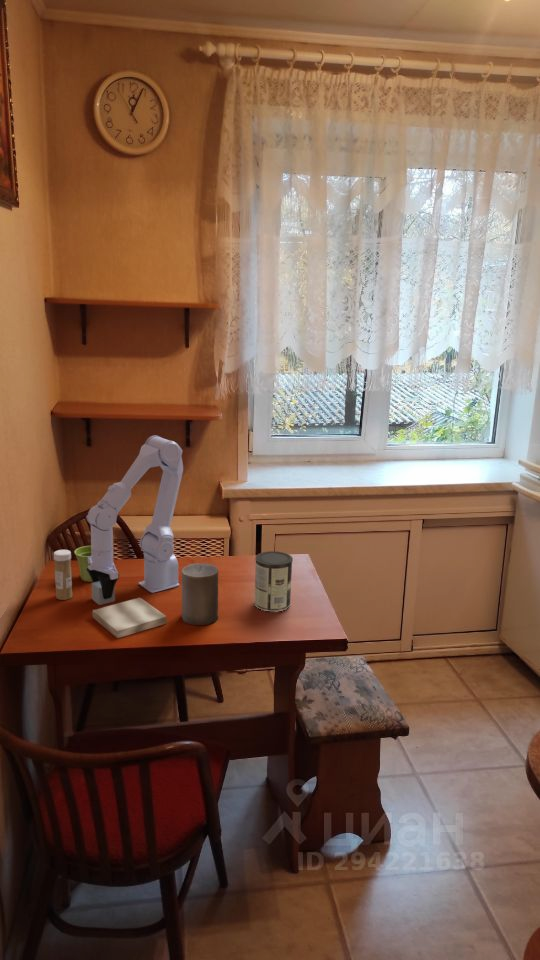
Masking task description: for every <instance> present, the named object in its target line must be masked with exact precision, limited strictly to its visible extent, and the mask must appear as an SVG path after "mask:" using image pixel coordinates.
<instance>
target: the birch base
mask: <svg viewBox="0 0 540 960" xmlns="http://www.w3.org/2000/svg"><path fill="white" fill-rule="evenodd" d="M92 618H93V619H94V620H95V621H97V622H98V624H100V625H101V626H102V627H104V628H105V629H106V630H107V631H108V632H110V633H111V634H112V635H113V636H114V637H115V638H117V639H121V638H124V637H127V636H130V635H133V634H136V633H141V632H144V631H146V630H149V629H152V628H153V629H154V628H157V627H159V626H160V627H161V626H163V625H166V624H167V615H165V614H164V613H162V612H161V611H160V610H158V609H157V608H155V607H154V606H153V605H151V604H150V603H149V602H147V601H146V600H144V599H143V598H141V597H137V598H133V599H129V600H125V601H122V602H118V603H116V604H115V603H114V604H111V605H108V606H107V605H106V606H103V607H100V608H99V607H98V608H97V609H92Z"/></svg>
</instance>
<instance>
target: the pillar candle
mask: <svg viewBox="0 0 540 960" xmlns="http://www.w3.org/2000/svg"><path fill="white" fill-rule="evenodd" d="M218 612H219V569H218V567H217V566H216V565H214V564H209V563H203V562H202V563H199V562H198V563H192V564H187V565H186V566H184V567H183V568H182V569H181V618H182V620H183V622H184V623H186V624H188V625H192V626H193V625H194V626H206V625H210V624H213V623H215V622H217V621H218V618H219V613H218Z"/></svg>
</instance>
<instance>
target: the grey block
mask: <svg viewBox="0 0 540 960" xmlns="http://www.w3.org/2000/svg"><path fill="white" fill-rule="evenodd" d="M115 586H116V585H115ZM115 586H114V590H113V594H112V597H111V598H108V599H104V598H103V594H102V587H101V584H100V581H97V582H91V599H92V601H93V602H95V604H97V605H98V606H103V605H106V604H109V603H113V602H116V596H115V595H116V594H115V593H116V591H115V589H116V588H115Z"/></svg>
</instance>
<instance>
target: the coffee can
mask: <svg viewBox="0 0 540 960" xmlns="http://www.w3.org/2000/svg"><path fill="white" fill-rule="evenodd" d="M293 562H294V561H293V557H292V555H290V554H289V553H286V552H283V551H274V550H273V551H272V550H270V551H263V552H260V553H258V554H257V555H256V556H255V570H254V571H255V577H254V579H255V580H254V603H253V605H254V604H255V605H254V606H256V607H257V608H256V607H255V608H256V609H258V608H259V609H261V610H260V611H262V610H264V611H263V612H265V611H274V612H273V613H276V612H275V611H281V610H285V609H287V608H288V607H289V606H290V607H291V597H292V595H291V594H292V591H291V590H292V569H293ZM290 607H289V608H290ZM289 608H288V609H289ZM259 609H258V610H259ZM288 609H287V610H288ZM285 611H286V610H285Z"/></svg>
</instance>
